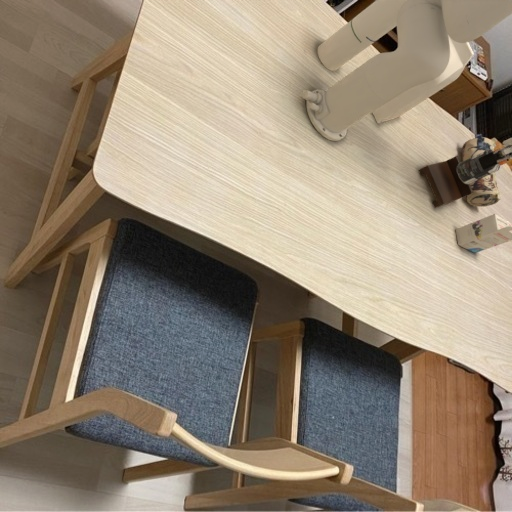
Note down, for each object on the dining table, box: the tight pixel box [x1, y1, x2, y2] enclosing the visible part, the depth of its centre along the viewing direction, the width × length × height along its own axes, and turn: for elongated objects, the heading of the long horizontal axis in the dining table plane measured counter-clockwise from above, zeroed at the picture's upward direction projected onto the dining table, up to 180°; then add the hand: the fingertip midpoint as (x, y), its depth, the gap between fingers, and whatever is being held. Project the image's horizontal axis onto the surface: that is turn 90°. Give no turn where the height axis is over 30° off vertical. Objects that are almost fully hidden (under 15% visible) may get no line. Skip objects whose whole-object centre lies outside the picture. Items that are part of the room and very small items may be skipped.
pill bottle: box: [457, 148, 508, 184], centre depth 145 cm, size 6×6×11 cm
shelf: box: [418, 155, 473, 209], centre depth 153 cm, size 12×11×6 cm
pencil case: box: [461, 133, 501, 208], centre depth 165 cm, size 22×8×10 cm, turn 173°
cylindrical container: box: [316, 0, 407, 72], centre depth 131 cm, size 7×7×25 cm
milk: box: [371, 35, 475, 124], centre depth 140 cm, size 12×12×26 cm
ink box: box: [455, 213, 512, 254], centre depth 151 cm, size 8×5×15 cm, turn 89°
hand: (486, 162), depth 144 cm, fingers closed on pill bottle, 6 cm apart
